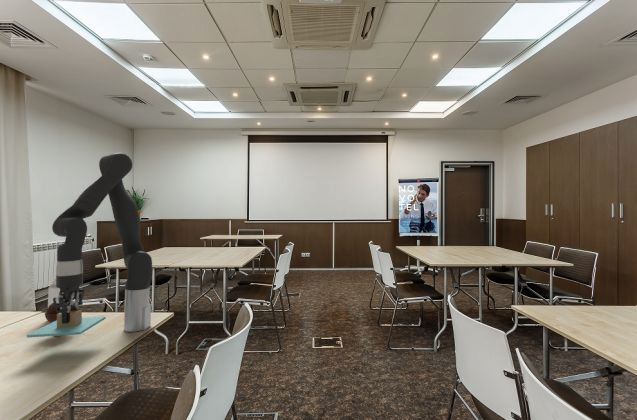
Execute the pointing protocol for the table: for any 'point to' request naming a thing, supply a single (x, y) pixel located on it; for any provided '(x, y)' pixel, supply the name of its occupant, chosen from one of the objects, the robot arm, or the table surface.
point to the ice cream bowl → (52, 313)
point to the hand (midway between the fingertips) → (69, 320)
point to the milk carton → (53, 292)
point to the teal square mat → (67, 325)
